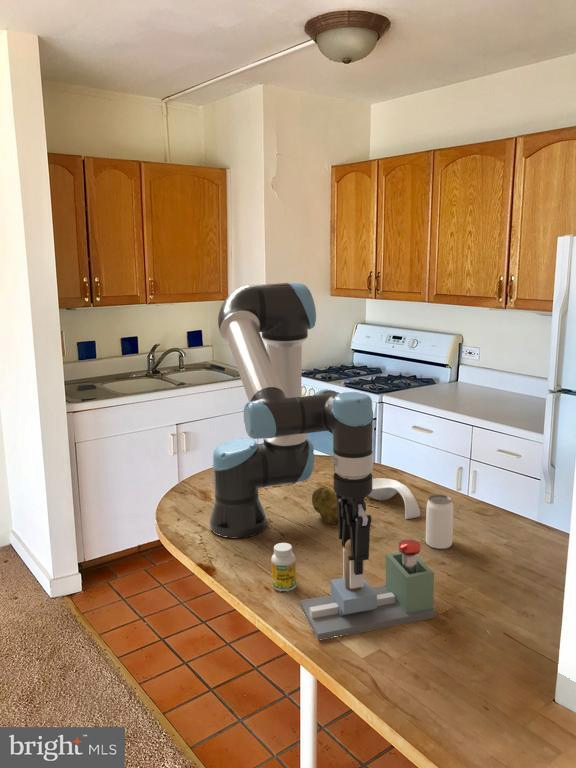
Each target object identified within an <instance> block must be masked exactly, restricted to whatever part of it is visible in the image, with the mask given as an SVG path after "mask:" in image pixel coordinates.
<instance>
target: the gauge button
mask: <svg viewBox="0 0 576 768" xmlns="http://www.w3.org/2000/svg"><path fill="white" fill-rule="evenodd" d="M421 547H422V546H421V543H420V542H419V541H417V540H413V539H402V540H400V541H399V542H398V552H401V553H402V567H403V568H404V569H405V570H406V571H407V573H408V574H413V573H416V571H417V556H418V554H420V553H421Z"/></svg>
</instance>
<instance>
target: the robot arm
mask: <svg viewBox="0 0 576 768" xmlns="http://www.w3.org/2000/svg"><path fill="white" fill-rule="evenodd" d="M221 304H222V305H221V306H220V308H219V312H218V317H217V325H218V329H219V333H220V335H221V338H222V339H223V340H224V341H225V342H226V343H227V344H228V345H229V349H230V351H231V354H232V357H233V359H234V363H235V366H236V369H237V371H238V375H239V377H240V381H241V382H242V386H243V389H244V391H245V394H246V397H247V399H248V402H246V403H245V404H244V407H243V423H244V427H245V431H246V433H247V435H248V437H249V438H248V437H247V438H243V437H242V438H235V439H234V438H233V439H230V440H227V441H225V442H223V443H220V444H219V445H218V446H217V447H215V449H214V450H213V454H212V465H211V466H212V470H213V481H214V482H213V485H214V497H215V498H214V504H213V507H212V511H211V514H210V519H209V528H211V529H212V531H214V532H215V533H217V534H220V535H222V536H227V537H244V538H247V537H246V536H249V537H252V536H251V535H253V536H255V535H257V533H258V534H259V532H260V533H261V532H263V531H264V530H265V529H266V527H267V517H266V513H265V510H264V508H263V506H262V502H261V500H260V498H259V489H260V488H268V487H274V486H276V487H277V486H281V485H282V486H283V485H288V484H289V485H290V484H291V485H293V484H297V483H300V482H305V481H307V480H308V479H309V478H310V477H311V475H312V474H313V470H314V466H315V459H316V458H315V453H314V452H315V450H314V444H313V442H312V441H311V439H310V438H308V437H307V436H308V435H307V434H311V433H313V434H314V433H320V432H330V433H331V434H332V443H333V444H332V445H333V449H332V452H333V458H331V459H330V461H331V463H332V464H333V471H334V473H333V491H334V492H335V493H336V497H337V505H338V526H337V527H338V529H337V530H338V539H339V540H340V541H341V546H342V578H344V579H345V543H346V542H347V540H349V539H351V555H352V556H348V559H349V561H350V588H351V589H352V588H358V587H364V578H365V577H364V575H365V562H364V561H368V560H369V558H370V540H371V539H370V535H371V534H370V531H371V523H372V516H371V515H370V514H368V515H367V514H366V511H367V505H366V504H367V503H366V502H365V498H367V497H368V495H369V494H370V493H371V492H372V479H373V474H372V472H373V468H374V467H373V466H374V465H373V463H374V462H373V460H374V454H373V453H374V451H373V430H374V429H373V428H374V422H373V421H374V411H373V400H372V398H371V397H370V395H368V394H366V393H361V392H356V391H355V392H354V391H346V392H341V393H340V392H338V391H336V390H332V389H326V388H325V389H321V390H319V391H317V392H316V393H314V394H313V395H303V396H302V363H303V362H302V361H303V360H302V357H303V356H302V355H303V353H302V351H303V350H302V349H303V345H302V344H303V343H304V342H305V341H306V340H307V339H308V337H309V336H308V335H309V332H308V330H311V329H313V328H315V325H316V322H317V311H316V309H317V308H316V305H315V300H314V297H313V294H312V292H311V290H310V289H309V287H308V286H306V284H304V283H301V282H299V283H297V282H282V283H281V282H280V283H279V282H278V283H268V284H247V285H243V286H241V287H238V288H236V289H235V290H233V291H232V292H231V293H230V294H229V295H228V296H226V298H225V299H224V301H223V302H222V303H221ZM264 341H265V342H266V343H267V348H266V346H265V343H264ZM257 439H258V440H259V439H263V442H262V443H257V441H256V440H257ZM211 529H210V530H211ZM263 529H264V530H263ZM212 531H211V532H212ZM254 534H255V535H254Z"/></svg>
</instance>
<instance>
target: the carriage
mask: <svg viewBox="0 0 576 768" xmlns="http://www.w3.org/2000/svg"><path fill="white" fill-rule="evenodd" d="M348 556H352V555H351V539H349V540H347V542H346V543H345V579H344V578H343V577H341V578H334V579H330V581H329V582H330V583H329V584H330V586H329V587H330V589H329V590H330V591H329V592H330V594H331V595H332V596H333V598H334V603H337V604H338V606H339V614H340V616H342V615H348V614H353V613H358V612H363V611H369V610H373V609H374V608H377V594H376V593H375V591H374V590H373V589H372V588H373V587H372V585H370V583H369V582H368V581H367V579H366V577H364V587H358V588H352V589H351V588H350V561H349V559H348Z"/></svg>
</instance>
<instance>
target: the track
mask: <svg viewBox="0 0 576 768" xmlns="http://www.w3.org/2000/svg"><path fill="white" fill-rule="evenodd" d="M434 584H435V572H434V571H433V570H432V569H431V568H430V567H429V566H428V565H427V564H426V563H425V562H424V561H423V560H422V559H421V557H419V556H418V555H417V571H416V573H413V574H408V573H407V571H406V570H405V569H404V568H403V567H402V553H401V552H400V551H396V552H389V553H385V585H380V586H374V587H372V589H373V590H374V591H375V593H376V594H377V608H374V609H373V610H369V611H363V612H358V613H353V614H348V615H342V616H340V614H339V606H338V604H337V603H334V598H333V596H332V595H325V596H318V597H313V598H307V599H301V600H299V607H301V608H300V609H302V610H301V612H302V611H303V612H304V614H305V616H306V617H305V616H304V617H305V619H306V618H307V619H306V621H307V620H308V621H307V623H308V622H309V623H308V625H309V624H310V625H309V627H310V626H311V627H312V629H313V631H312V633H313V632H314V633H313V635H314V634H315V635H316V637H317V639H318V640H320V639H324V638H325V640H327V639H326V638H330V639H332V638H331V637H334V636H340V635H345V636H347V635H346V634H350V635H355V634H360V633H365V632H369V631H374V630H375V631H376V630H379V629H386V628H389V627H394V626H400V625H404V624H405V625H406V624H410V623H411V624H412V623H414V622H419V621H420V622H421V621H426V620H430V619H435V618H436V610H435V608H434V589H435V588H434V587H435V585H434ZM303 612H302V613H303ZM304 614H303V615H304ZM311 627H310V628H311ZM312 629H311V630H312ZM354 633H355V634H354ZM315 635H314V636H315ZM316 637H315V638H316ZM340 637H341V636H340ZM317 639H316V640H317ZM318 640H317V641H318ZM320 641H321V640H320Z"/></svg>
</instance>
